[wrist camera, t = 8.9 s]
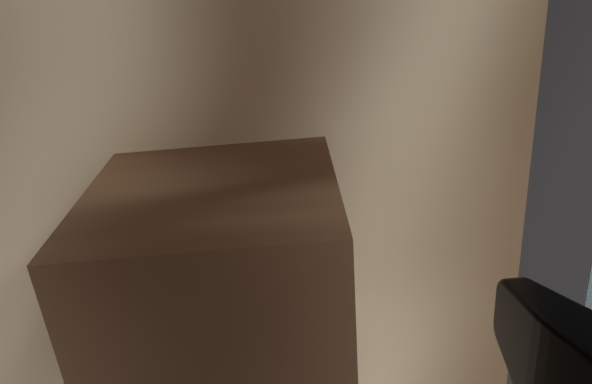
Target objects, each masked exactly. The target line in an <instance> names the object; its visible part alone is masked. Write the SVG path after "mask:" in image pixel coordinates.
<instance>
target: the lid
mask: <svg viewBox="0 0 592 384" xmlns="http://www.w3.org/2000/svg"><path fill="white" fill-rule="evenodd" d="M547 9H548V0H0V384H506V383H507V374H508V370H507V367H506V364H505V361H504V359H503V356H502V353H501V351H500V348H499V345H498V342H497V340H496V337H495V333H494V326H493V320H494V309H495V297H496V288H497V284H498V282H499V281H500V280H501V279H505V278H516V277H518V274H519V265H520V255H521V246H522V237H523V228H524V219H525V210H526V201H527V191H528V182H529V173H530V164H531V155H532V146H533V137H534V128H535V118H536V109H537V100H538V91H539V82H540V73H541V64H542V54H543V45H544V36H545V27H546V18H547Z"/></svg>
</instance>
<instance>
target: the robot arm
mask: <svg viewBox="0 0 592 384" xmlns="http://www.w3.org/2000/svg"><path fill="white" fill-rule="evenodd" d="M493 326H494V333H495V337H496V340H497V342H498V345H499V348H500V351H501V353H502V356H503V359H504V361H505V364H506V367H507V370H508V372H509V375H510V378H511V380H512V383H513V384H592V310H591V309H589V308H587V307H585V306H583V305H581V304H579V303H577V302H575V301H573V300H571V299H569V298H567V297H565V296H563V295H561V294H559V293H557V292H555V291H553V290H551V289H549V288H547V287H545V286H543V285H541V284H539V283H537V282H535V281H533V280H531V279H529V278H527V277H516V278H505V279H501V280H500V281H499V282H498V284H497V288H496V297H495V309H494V320H493Z"/></svg>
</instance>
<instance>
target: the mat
mask: <svg viewBox="0 0 592 384" xmlns="http://www.w3.org/2000/svg"><path fill="white" fill-rule="evenodd" d="M591 266H592V0H548V9H547V18H546V27H545V36H544V45H543V54H542V64H541V73H540V82H539V91H538V100H537V109H536V118H535V128H534V137H533V146H532V155H531V164H530V173H529V182H528V191H527V201H526V210H525V219H524V228H523V237H522V246H521V255H520V265H519V274H518V277H527V278H529V279H531V280H533V281H535V282H537V283H539V284H541V285H543V286H545V287H547V288H549V289H551V290H553V291H555V292H557V293H559V294H561V295H563V296H565V297H567V298H569V299H571V300H573V301H575V302H577V303H579V304H581V305H583V306H585V301H586V295H587V289H588V283H589V278H590V272H591ZM506 384H513V383H512V380H511V378H510V375H509V372H508V374H507V383H506Z"/></svg>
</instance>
